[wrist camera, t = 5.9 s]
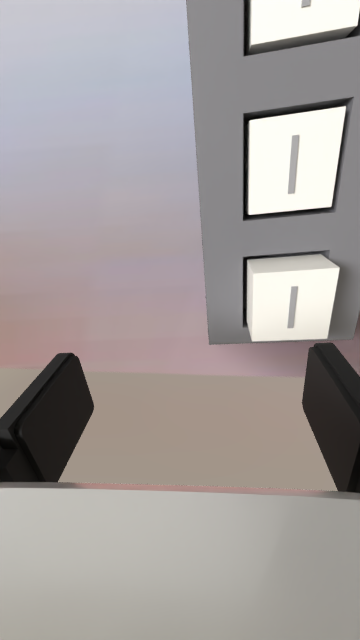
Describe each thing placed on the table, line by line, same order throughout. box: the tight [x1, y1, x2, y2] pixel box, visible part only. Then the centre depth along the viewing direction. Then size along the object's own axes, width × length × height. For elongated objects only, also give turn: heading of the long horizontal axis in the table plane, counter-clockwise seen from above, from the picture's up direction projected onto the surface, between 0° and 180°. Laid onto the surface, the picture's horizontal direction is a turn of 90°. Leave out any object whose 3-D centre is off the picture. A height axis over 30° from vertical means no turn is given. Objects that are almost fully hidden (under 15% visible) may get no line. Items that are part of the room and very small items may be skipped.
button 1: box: [247, 254, 340, 341], centre depth 15 cm, size 4×4×3 cm
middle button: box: [244, 106, 346, 215], centre depth 14 cm, size 4×4×3 cm
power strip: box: [186, 0, 360, 345], centre depth 14 cm, size 21×9×4 cm, turn 6°
